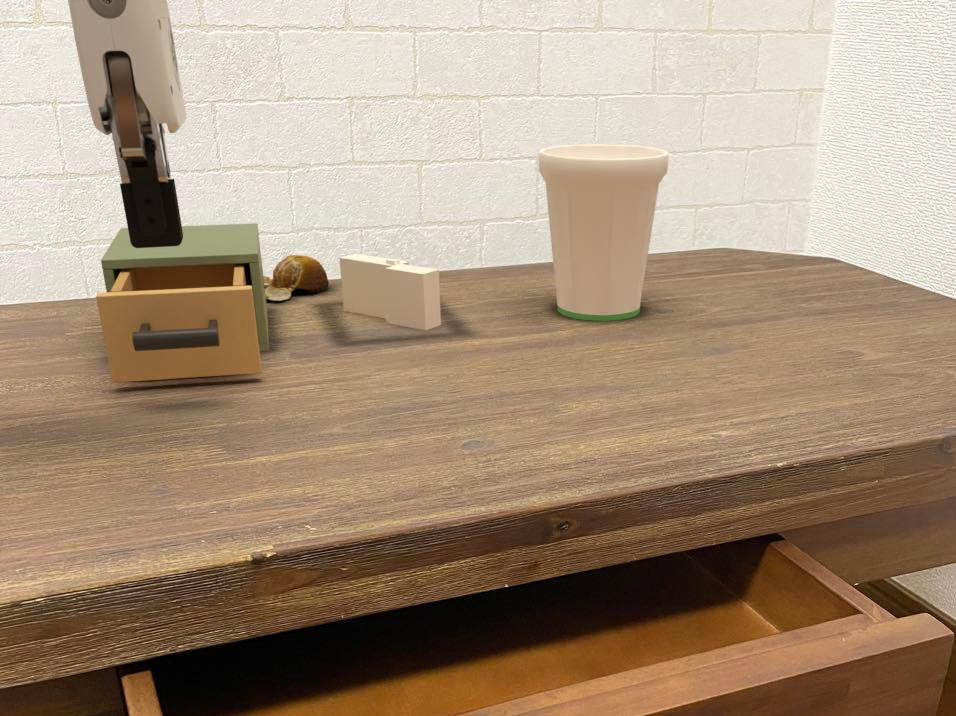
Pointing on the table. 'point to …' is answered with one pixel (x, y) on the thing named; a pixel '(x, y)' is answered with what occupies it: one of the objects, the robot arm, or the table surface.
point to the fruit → (295, 277)
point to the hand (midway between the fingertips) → (158, 244)
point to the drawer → (180, 323)
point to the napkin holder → (391, 290)
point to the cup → (601, 225)
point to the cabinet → (198, 259)
